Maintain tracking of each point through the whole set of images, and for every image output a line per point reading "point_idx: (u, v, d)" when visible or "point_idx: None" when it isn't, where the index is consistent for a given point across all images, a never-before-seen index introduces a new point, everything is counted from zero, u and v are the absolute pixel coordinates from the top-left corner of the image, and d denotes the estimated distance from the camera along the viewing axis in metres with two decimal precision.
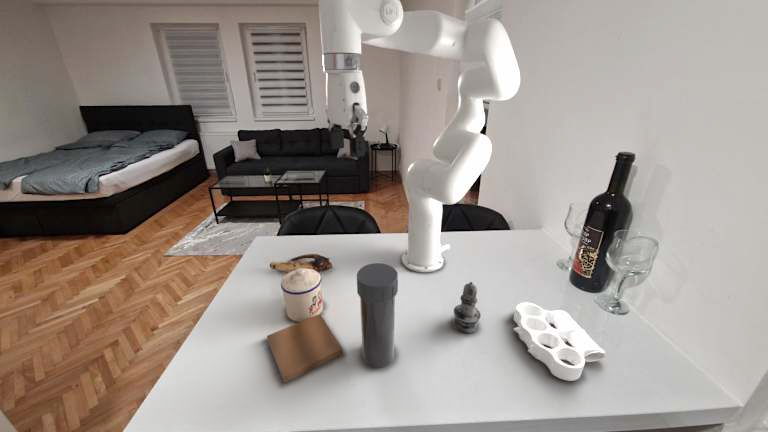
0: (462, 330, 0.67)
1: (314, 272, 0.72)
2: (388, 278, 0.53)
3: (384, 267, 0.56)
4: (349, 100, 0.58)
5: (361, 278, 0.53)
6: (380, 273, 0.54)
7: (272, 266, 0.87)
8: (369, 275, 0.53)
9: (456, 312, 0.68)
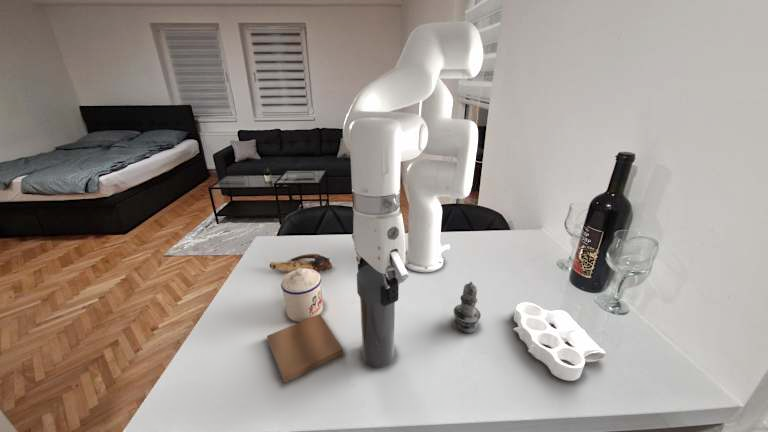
0: (462, 330, 0.67)
1: (314, 272, 0.72)
2: (388, 278, 0.53)
3: None
4: (386, 249, 0.46)
5: (361, 278, 0.53)
6: None
7: (272, 266, 0.87)
8: (369, 275, 0.53)
9: (456, 312, 0.68)
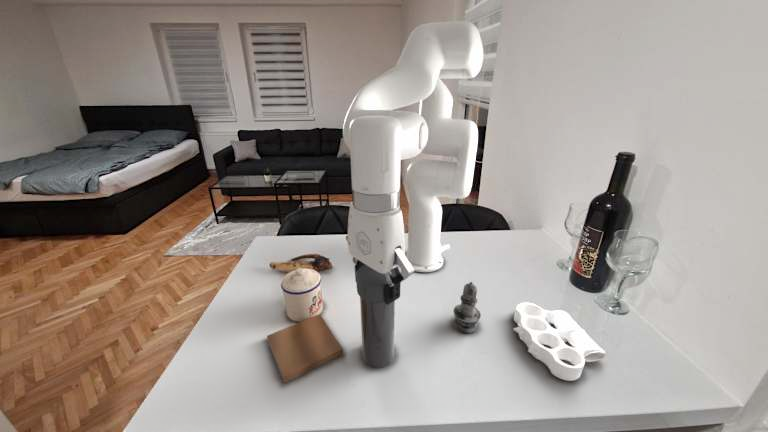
0: (462, 330, 0.67)
1: (314, 272, 0.72)
2: (364, 270, 0.54)
3: (371, 281, 0.51)
4: None
5: None
6: (373, 274, 0.53)
7: (272, 266, 0.87)
8: None
9: (456, 312, 0.68)
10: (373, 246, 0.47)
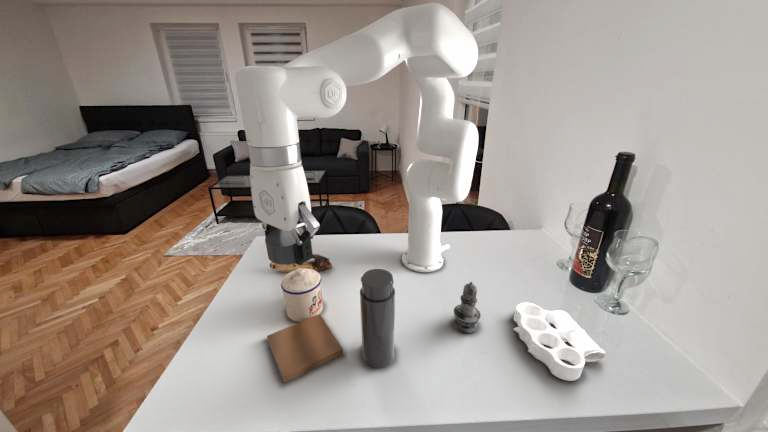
0: (462, 330, 0.67)
1: (314, 272, 0.72)
2: (274, 234, 0.53)
3: (280, 243, 0.50)
4: None
5: (302, 230, 0.54)
6: (283, 237, 0.52)
7: (272, 266, 0.87)
8: None
9: (456, 312, 0.68)
10: (275, 203, 0.46)
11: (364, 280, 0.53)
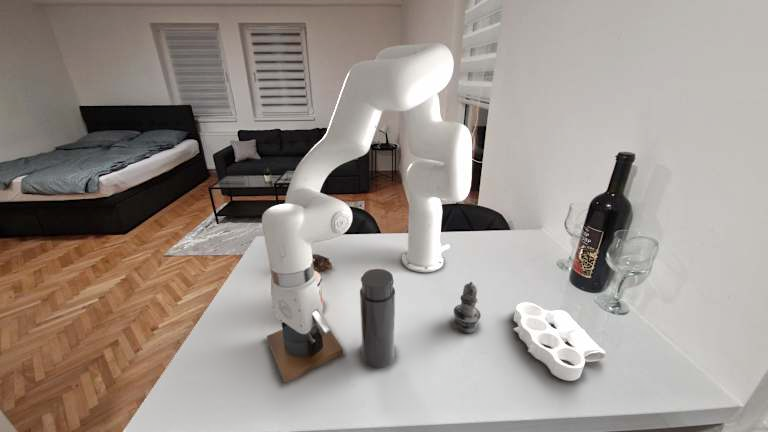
0: (462, 330, 0.67)
1: (314, 272, 0.72)
2: (290, 327, 0.62)
3: (295, 338, 0.59)
4: None
5: None
6: None
7: None
8: None
9: (456, 312, 0.68)
10: (293, 313, 0.55)
11: (364, 280, 0.53)
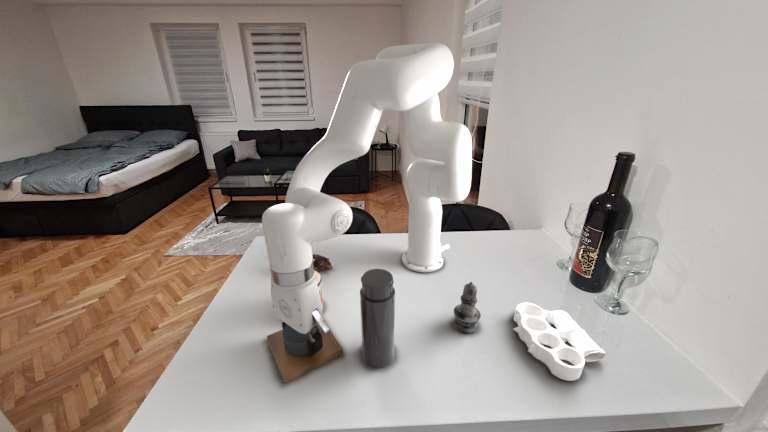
0: (462, 330, 0.67)
1: (314, 272, 0.72)
2: None
3: (295, 338, 0.59)
4: None
5: None
6: None
7: None
8: None
9: (456, 312, 0.68)
10: (293, 312, 0.55)
11: (364, 280, 0.53)
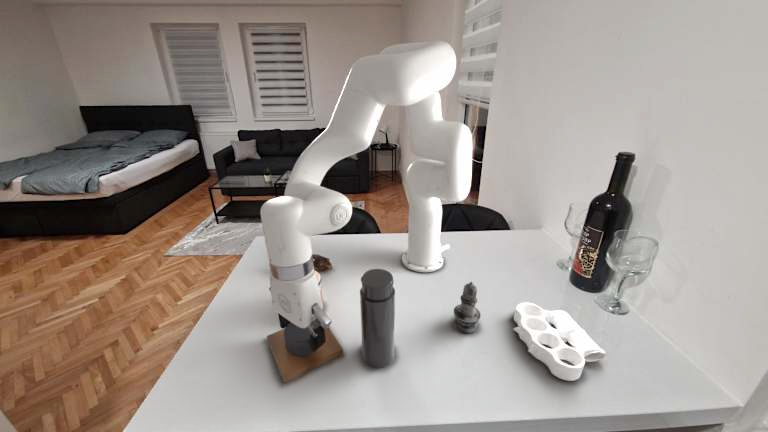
0: (462, 330, 0.67)
1: None
2: (291, 327, 0.62)
3: (296, 338, 0.59)
4: None
5: (315, 321, 0.63)
6: (299, 331, 0.61)
7: None
8: None
9: (456, 312, 0.68)
10: (292, 306, 0.54)
11: (364, 280, 0.53)
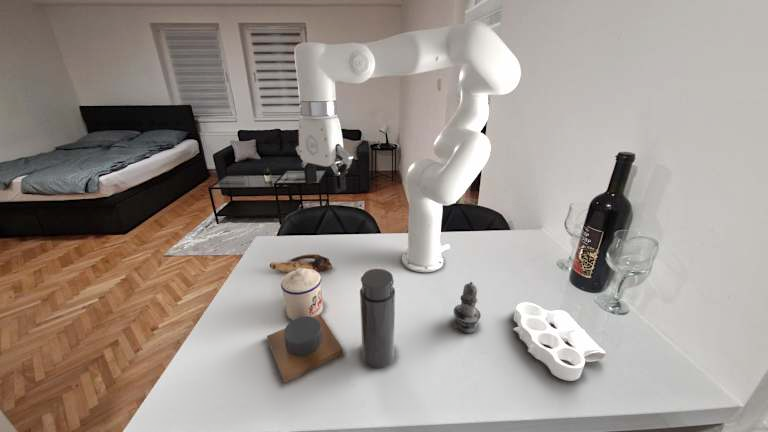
0: (462, 330, 0.67)
1: (314, 272, 0.72)
2: (291, 327, 0.62)
3: (296, 338, 0.59)
4: None
5: (315, 321, 0.63)
6: (299, 331, 0.61)
7: (272, 266, 0.87)
8: (308, 326, 0.62)
9: (456, 312, 0.68)
10: (319, 145, 0.63)
11: (364, 280, 0.53)
